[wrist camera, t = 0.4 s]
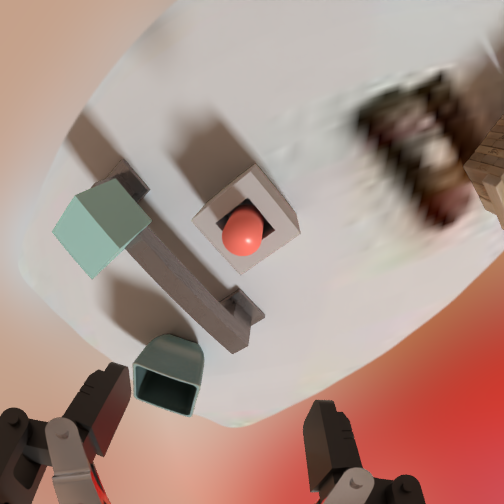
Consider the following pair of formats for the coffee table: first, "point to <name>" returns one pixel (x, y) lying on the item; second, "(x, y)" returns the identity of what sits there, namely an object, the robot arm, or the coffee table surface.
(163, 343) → the flower pot
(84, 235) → the carriage
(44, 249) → the coffee table surface
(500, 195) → the block tower
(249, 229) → the button
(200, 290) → the handrail
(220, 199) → the cabinet
